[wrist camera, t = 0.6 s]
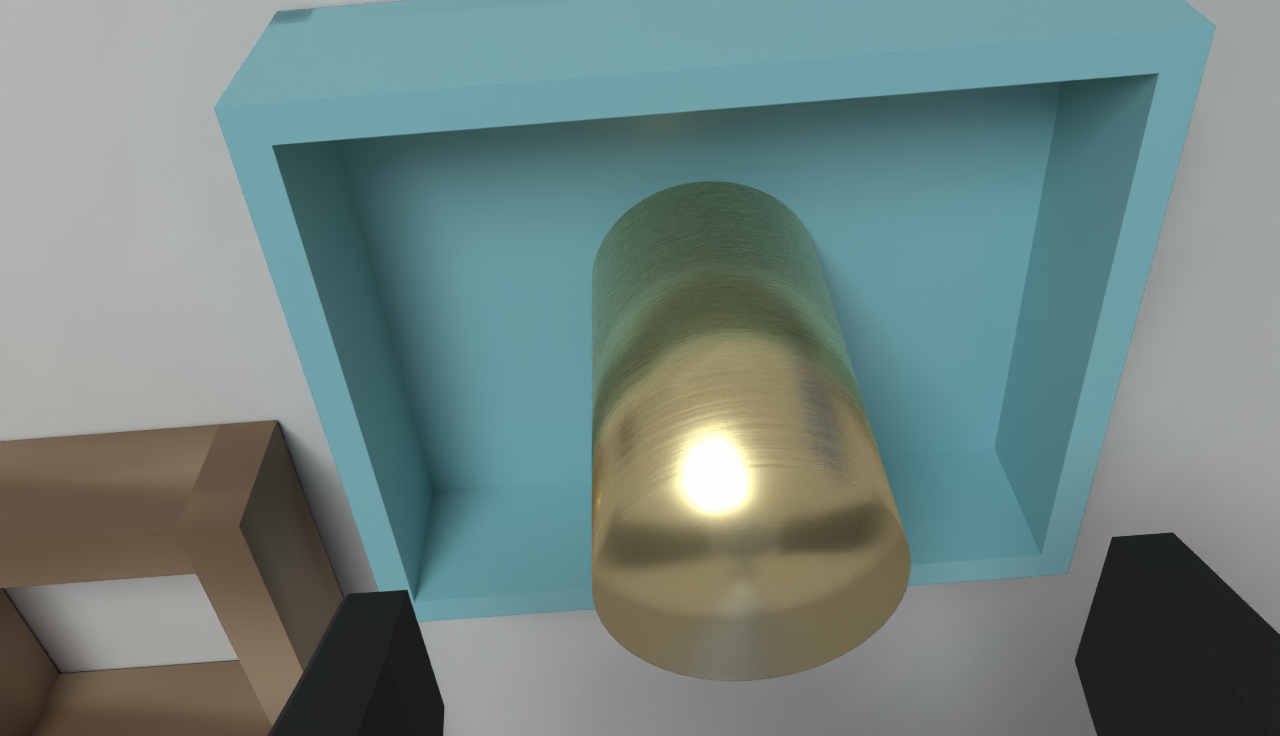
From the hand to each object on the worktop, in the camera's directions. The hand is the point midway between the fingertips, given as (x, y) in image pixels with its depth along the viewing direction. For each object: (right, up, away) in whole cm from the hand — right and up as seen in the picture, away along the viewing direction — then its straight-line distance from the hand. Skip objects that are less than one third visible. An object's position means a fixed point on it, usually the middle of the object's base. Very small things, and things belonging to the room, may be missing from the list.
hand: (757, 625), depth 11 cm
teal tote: (0, +4, +6) cm, 7 cm away
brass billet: (0, +4, +5) cm, 7 cm away
